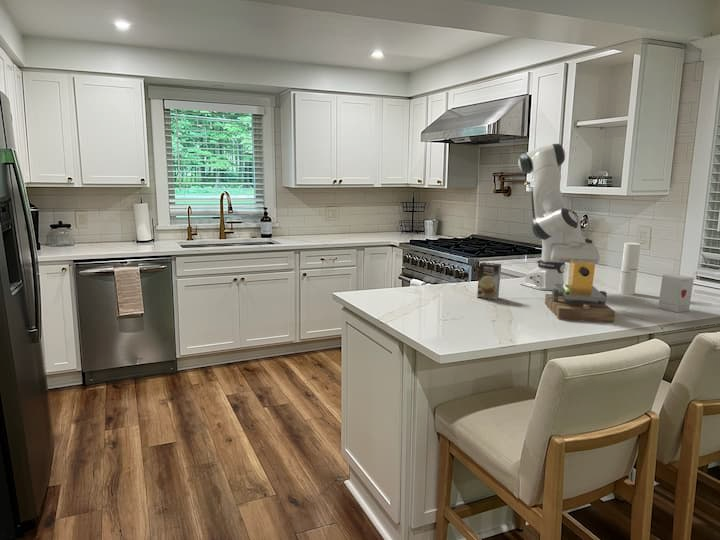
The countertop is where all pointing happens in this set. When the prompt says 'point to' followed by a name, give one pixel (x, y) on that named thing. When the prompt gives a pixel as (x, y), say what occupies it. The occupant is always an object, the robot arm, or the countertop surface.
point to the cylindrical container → (629, 268)
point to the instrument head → (580, 283)
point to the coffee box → (489, 280)
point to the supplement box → (676, 292)
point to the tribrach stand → (579, 308)
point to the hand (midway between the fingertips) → (577, 269)
